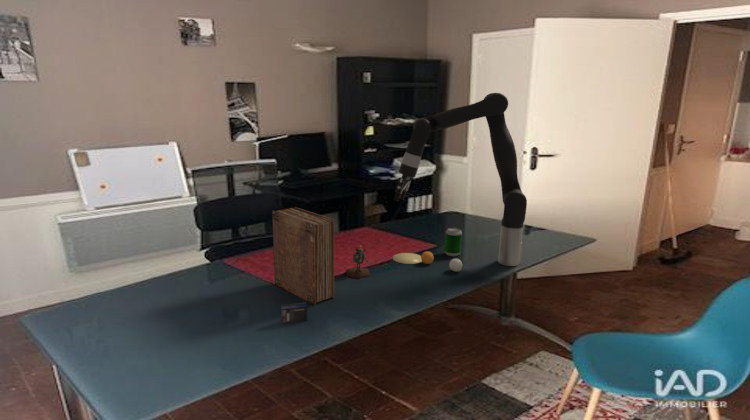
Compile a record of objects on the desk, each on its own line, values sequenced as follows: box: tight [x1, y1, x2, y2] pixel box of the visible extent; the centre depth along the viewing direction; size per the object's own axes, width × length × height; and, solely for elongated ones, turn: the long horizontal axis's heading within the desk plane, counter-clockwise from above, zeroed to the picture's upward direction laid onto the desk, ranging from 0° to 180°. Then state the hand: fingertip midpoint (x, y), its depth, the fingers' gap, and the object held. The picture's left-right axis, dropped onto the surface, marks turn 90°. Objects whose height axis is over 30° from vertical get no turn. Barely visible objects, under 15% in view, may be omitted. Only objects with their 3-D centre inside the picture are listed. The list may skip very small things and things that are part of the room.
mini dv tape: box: [280, 301, 308, 324], centre depth 160 cm, size 8×2×6 cm, turn 106°
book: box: [271, 206, 335, 307], centre depth 180 cm, size 25×9×30 cm, turn 44°
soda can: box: [444, 227, 463, 257], centre depth 226 cm, size 8×8×12 cm
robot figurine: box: [345, 245, 371, 280], centre depth 200 cm, size 11×9×12 cm
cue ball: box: [448, 258, 463, 273], centre depth 206 cm, size 6×6×6 cm
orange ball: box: [420, 251, 434, 265], centre depth 214 cm, size 6×6×6 cm
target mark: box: [392, 252, 423, 265], centre depth 221 cm, size 14×14×1 cm
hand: (398, 200), depth 211 cm, fingers open, 8 cm apart
